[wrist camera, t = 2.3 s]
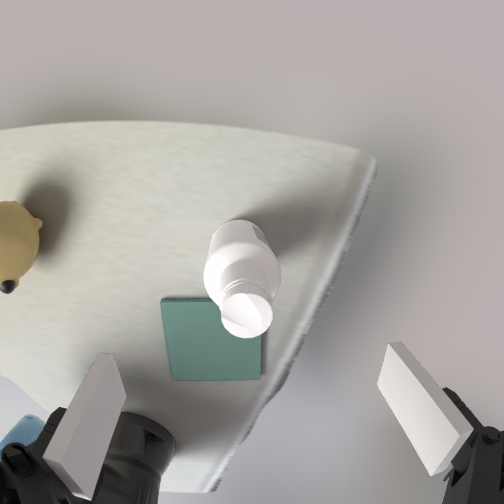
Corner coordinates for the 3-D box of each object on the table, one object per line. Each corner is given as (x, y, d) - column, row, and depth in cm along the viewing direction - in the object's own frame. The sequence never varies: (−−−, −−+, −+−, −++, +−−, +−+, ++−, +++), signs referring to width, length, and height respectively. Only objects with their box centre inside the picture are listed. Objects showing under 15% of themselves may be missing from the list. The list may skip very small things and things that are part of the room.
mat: (259, 375, 42) (260, 379, 41) (173, 375, 41) (172, 380, 40) (261, 297, 39) (261, 300, 38) (161, 299, 38) (160, 302, 37)
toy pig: (-2, 253, 34) (-45, 275, 24) (16, 185, 32) (-32, 194, 21) (39, 287, 36) (-1, 318, 26) (61, 217, 34) (15, 236, 23)
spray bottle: (240, 283, 38) (250, 373, 21) (199, 248, 36) (174, 320, 19) (277, 244, 37) (319, 310, 20) (236, 207, 35) (243, 245, 18)
